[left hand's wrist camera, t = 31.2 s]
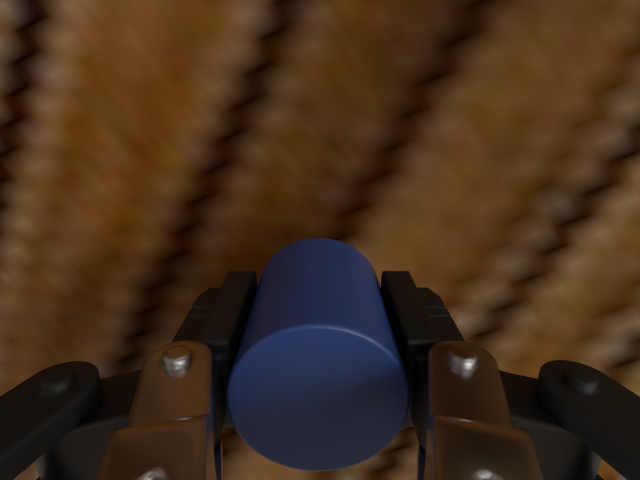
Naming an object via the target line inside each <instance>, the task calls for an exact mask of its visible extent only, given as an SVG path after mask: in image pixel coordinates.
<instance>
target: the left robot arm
mask: <svg viewBox="0 0 640 480" xmlns="http://www.w3.org/2000/svg"><path fill="white" fill-rule="evenodd" d="M256 289H257V279H256V273H255V271H229V273H228V274H227V276H226V279H225V281H224V283H223V285H222V287H221V288H209V289H208V290H207V291H205V292H204V293H202V294H201V295H200V296H198V297H197V299H196V301H195V303H194V304H193V306H192V309H191V310H190V311H189V313H188V315H187V318H185V320H184V322H183V323H182V325H181V327H180V329H179V330H178V332H177V334H176V336H175V337H174V339H173V341H172V342H171V343H169V344H166V345H163V346H161V347H159V348H157V349H156V350H154V351H153V352H151V353H150V354H149V355H148V356H147V357H146V359H145V360H144V362H143V365H142V369H140V370H138V371H135V372H131V373H127V374H123V375H118V376H113V377H108V378H103V379H100V376H99V372H98V369H97V367H96V366H95V365H93V364H91V363H88V362H82V361H73V362H66V363H62V364H58V365H55V366H52V367H49V368H47V369H44V370H42V371H40V372H38V373H37V374H35V375H33V376H32V377H30V378H29V379H27V380H25V381H24V382H22V383H21V384H19V385H18V386H16V387H15V388H13V389H12V390H10V391H8V392H7V393H5V394H4V395H2V396H1V397H0V480H13V479H14V478H15V477H17V476H18V475H19V474H20V473H21V472H23V471H24V470H25V469H26V468H27V467H29V466H30V465H31V464H32V463H33V462H35V463H36V466H37V469H38V472H39V475H40V477H39V478H38V479H36V480H223V459H222V444H221V432H222V429H223V427H234V425H233V423H232V421H231V419H230V415H229V412H228V408H227V401H226V390H227V384H228V379H229V376H230V373H231V370H232V366H233V363H234V360H235V357H236V353H237V350H238V347H239V344H240V341H241V337H242V334H243V331H244V328H245V325H246V321H247V318H248V315H249V312H250V308H251V305H252V302H253V299H254V296H255V292H256ZM381 292H382V295H383V299H384V302H385V305H386V309H387V312H388V315H389V319H390V322H391V325H392V329H393V332H394V336H395V339H396V342H397V346H398V349H399V352H400V356H401V359H402V362H403V366H404V369H405V372H406V376H407V380H408V384H409V390H410V402H409V408H408V413H407V416H406V419H405V421H404V424H403V426H402V427H414V428H415V432H416V435H417V439H418V441H419V444H418V459H417V480H604V479H602V478H601V477H600V476H599V475H598V474H597V472H598V469H599V466H600V463H601V460H602V459H603V460H604V461H605V462H607V463H608V464H609V465H610V466H611V467H613V468H614V469H615V470H616V471H617V472H619V473H620V474H621V475H622V476H623V477H625V478H626V479H627V480H640V397H639V396H638V395H636V394H635V393H633V392H632V391H630V390H628V389H627V388H625V387H624V386H622V385H621V384H619V383H618V382H616V381H615V380H613V379H611V378H610V377H608V376H607V375H605V374H604V373H602V372H600V371H598V370H596V369H594V368H592V367H589V366H587V365H584V364H581V363H577V362H573V361H566V360H555V361H550V362H547V363H545V364H544V365H542V367H541V369H540V372H539V377H538V379H536V378H531V377H526V376H521V375H516V374H511V373H507V372H503V371H500V370H499V369H498V365H497V362H496V360H495V359H494V357H493V356H492V355H491V354H490V353H489V352H487V351H486V350H484V349H483V348H481V347H479V346H477V345H474V344H471V343H468V342H465V340H464V338H463V337H462V335H461V333H460V331H459V330H458V328H457V326H456V324H455V323H454V321H453V319H452V317H450V314H449V312H448V310H447V309H446V307H445V305H444V303H443V301H442V300H441V298H440V296H438V295H437V294H436V293H434V292H433V291H431V290H430V289H429V288H417V287H416V285H415V283H414V281H413V279H412V277H411V275H410V273H409V271H383V272H382V277H381Z"/></svg>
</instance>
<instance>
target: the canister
mask: <svg viewBox="0 0 640 480" xmlns="http://www.w3.org/2000/svg"><path fill="white" fill-rule="evenodd" d="M226 401H227V408H228V412H229V415H230V419H231V421H232V423H233V425H234V428H235V429H236V431H237V432H238V434H239V435H240V437H241V438H242V439H243V440H244V441H245V442H246V443H247V444H248V445H249V446H250V447H251V448H252V449H253V450H255V451H256V452H257V453H259V454H260V455H262V456H263V457H265V458H267V459H269V460H271V461H273V462H275V463H278V464H280V465H283V466H287V467H290V468H294V469H300V470H307V471H329V470H337V469H342V468H347V467H350V466H353V465H356V464H359V463H361V462H363V461H366V460H368V459H369V458H371V457H373V456H375V455H376V454H378V453H379V452H380V451H382V450H383V449H384V448H385V447H386V446H387V445H389V444H390V443H391V442H392V440H393V439H394V438H395V437H396V435H397V434H398V433H399V431H400V429H401V428H402V426H403V424H404V421H405V419H406V416H407V413H408V408H409V402H410V390H409V384H408V380H407V376H406V372H405V369H404V366H403V362H402V359H401V356H400V352H399V349H398V346H397V342H396V339H395V336H394V332H393V329H392V325H391V322H390V319H389V315H388V312H387V309H386V305H385V302H384V299H383V295H382V292H381V289H380V285H379V282H378V279H377V276H376V273H375V271H374V269H373V267H372V266H371V264H370V263H369V261H368V260H367V259H366V258H365V257H364V256H363V255H362V254H361V253H360V252H359V251H357V250H356V249H354V248H353V247H351V246H349V245H347V244H345V243H342V242H340V241H336V240H332V239H325V238H312V239H305V240H301V241H297V242H295V243H292V244H290V245H288V246H286V247H285V248H283V249H281V250H280V251H279V252H277V253H276V254H275V255H274V256H273V257H272V258H271V259H270V260H269V262H268V263H267V264H266V266H265V268H264V270H263V271H262V274H261V277H260V280H259V283H258V286H257V289H256V292H255V296H254V299H253V302H252V305H251V308H250V312H249V315H248V318H247V321H246V325H245V328H244V331H243V334H242V337H241V341H240V344H239V347H238V350H237V353H236V357H235V360H234V363H233V366H232V370H231V373H230V376H229V379H228V384H227V390H226Z"/></svg>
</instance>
